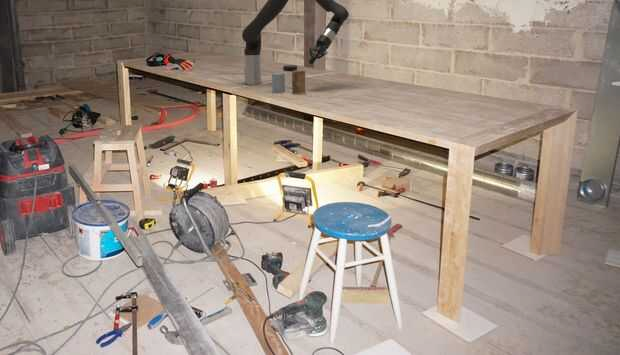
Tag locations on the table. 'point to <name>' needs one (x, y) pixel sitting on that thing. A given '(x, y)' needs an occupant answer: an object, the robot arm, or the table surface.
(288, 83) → the jar
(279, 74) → the grey block
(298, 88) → the walnut block
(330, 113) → the table surface
